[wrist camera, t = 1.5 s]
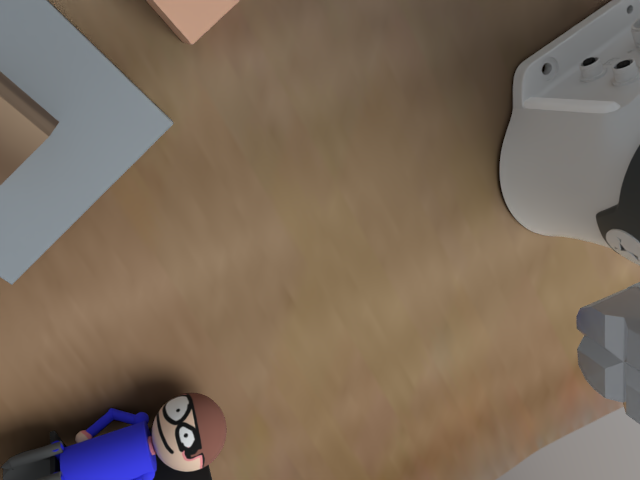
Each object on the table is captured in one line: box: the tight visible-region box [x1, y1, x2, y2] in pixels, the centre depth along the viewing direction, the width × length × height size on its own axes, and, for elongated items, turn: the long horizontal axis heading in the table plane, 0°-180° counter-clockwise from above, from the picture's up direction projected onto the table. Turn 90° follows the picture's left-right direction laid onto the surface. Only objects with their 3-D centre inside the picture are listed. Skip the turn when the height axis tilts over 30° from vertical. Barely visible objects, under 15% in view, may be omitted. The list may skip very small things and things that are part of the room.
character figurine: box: [1, 393, 227, 480], centre depth 38 cm, size 8×7×15 cm
